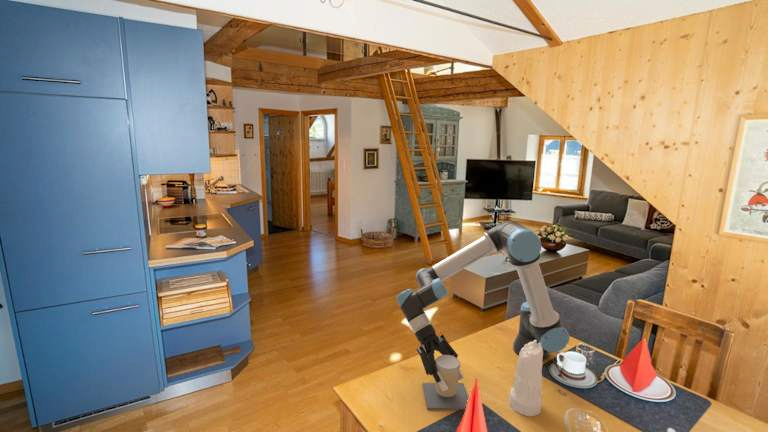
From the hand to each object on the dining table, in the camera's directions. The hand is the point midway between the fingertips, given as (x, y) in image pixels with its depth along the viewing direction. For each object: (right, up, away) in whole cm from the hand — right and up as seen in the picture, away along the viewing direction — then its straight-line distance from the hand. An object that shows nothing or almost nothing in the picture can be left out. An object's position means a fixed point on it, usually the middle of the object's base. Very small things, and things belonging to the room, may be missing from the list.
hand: (453, 384), depth 144 cm
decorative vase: (+26, -8, 0) cm, 27 cm away
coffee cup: (-2, -4, +3) cm, 6 cm away
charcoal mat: (-2, -6, +4) cm, 8 cm away
